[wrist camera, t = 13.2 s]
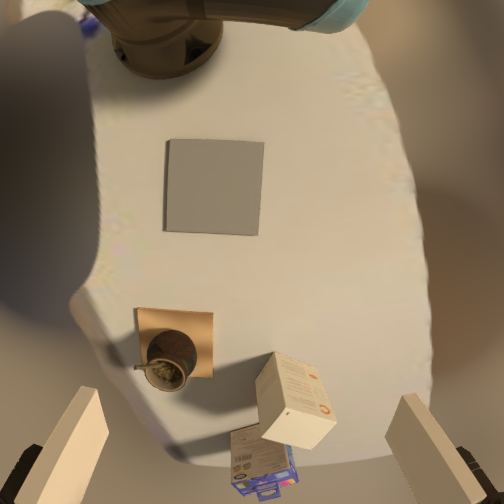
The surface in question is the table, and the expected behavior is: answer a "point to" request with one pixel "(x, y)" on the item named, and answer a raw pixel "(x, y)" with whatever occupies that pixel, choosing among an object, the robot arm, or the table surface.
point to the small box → (292, 403)
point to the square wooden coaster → (186, 322)
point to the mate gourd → (169, 360)
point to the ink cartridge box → (260, 464)
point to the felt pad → (214, 186)
